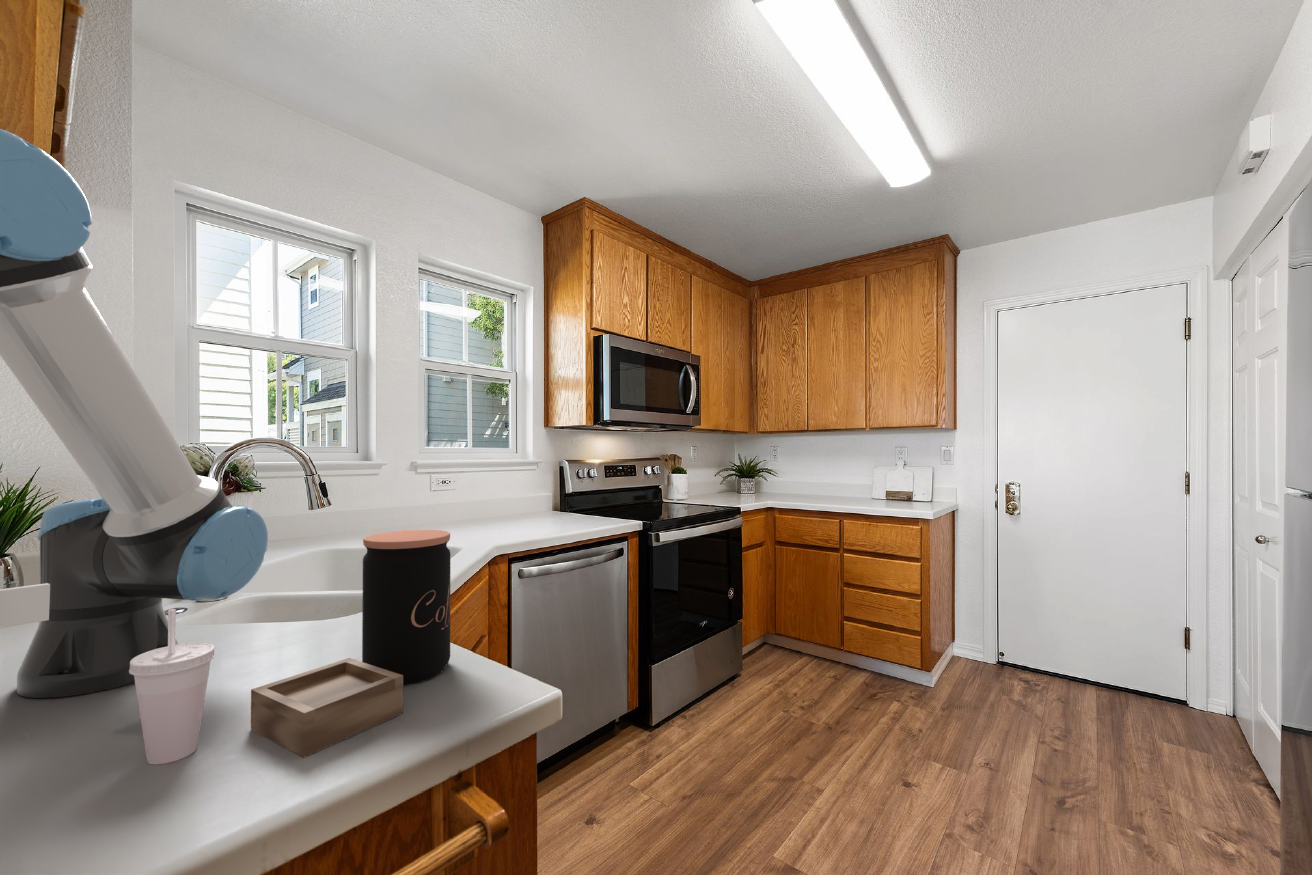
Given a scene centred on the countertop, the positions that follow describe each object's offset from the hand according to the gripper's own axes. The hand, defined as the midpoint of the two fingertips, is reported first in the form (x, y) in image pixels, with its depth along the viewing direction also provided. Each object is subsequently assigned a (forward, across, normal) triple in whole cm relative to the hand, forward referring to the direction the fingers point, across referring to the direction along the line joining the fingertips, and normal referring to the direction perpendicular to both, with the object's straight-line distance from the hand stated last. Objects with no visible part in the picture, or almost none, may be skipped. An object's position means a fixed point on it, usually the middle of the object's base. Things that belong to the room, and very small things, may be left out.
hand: (24, 590), depth 47 cm
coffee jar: (+35, +2, -18) cm, 39 cm away
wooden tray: (+22, +7, -18) cm, 29 cm away
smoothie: (+10, 0, -18) cm, 21 cm away
